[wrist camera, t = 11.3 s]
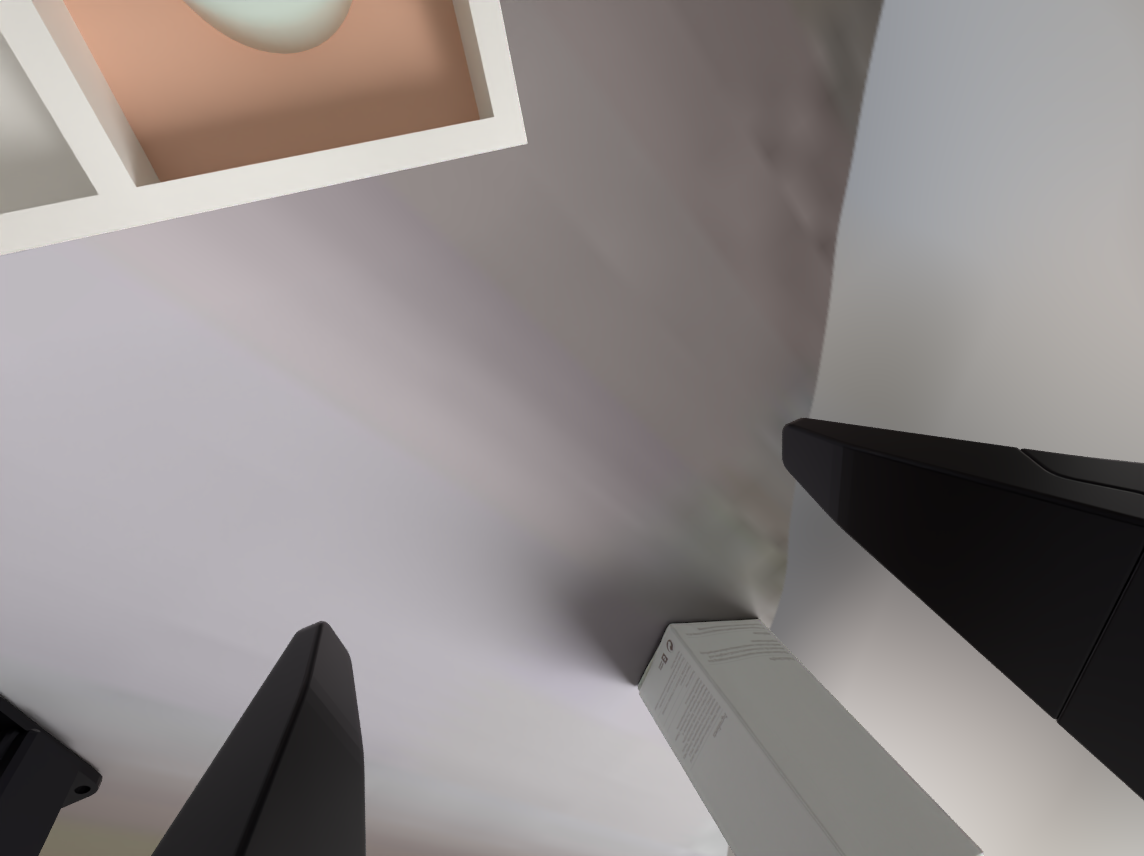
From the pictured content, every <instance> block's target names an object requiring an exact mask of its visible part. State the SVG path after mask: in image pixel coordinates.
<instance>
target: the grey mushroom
mask: <svg viewBox="0 0 1144 856" xmlns="http://www.w3.org/2000/svg"><path fill="white" fill-rule="evenodd" d="M183 1H184V2H185V3H186V4H187V5H188V6H189V7H190V8H191V9H192V10H193V11H194V12H196V13H197V14H198V15H199V16H200V17H201V18H202V19H203V20H204V21H206V22H207V23H208V24H210V25H211V26H212V27H214V28H215V29H216V30H218V31H219V32H221V33H222V34H224V35H226V36H227V37H229V38H231V39H233V40H235V41H237V42H239V43H241V44H243V45H245V46H248V47H251V48H254V49H257V50H261V51H265V52H270V53H281V54H288V53H298V52H302V51H306V50H309V49H312V48H314V47H316V46H319V45H320V44H322V43H323V42H325V41H326V40H328V39H329V38H330V37H331V36H332V35H333V34H334V33H335V32H336V31H337V30H338V28H339V27H340V26H341V24H342V23H343V21H344V20H345V18H346V16H347V14H348V12H349V9H350V6H351V3H352V0H183Z"/></svg>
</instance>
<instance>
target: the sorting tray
mask: <svg viewBox="0 0 1144 856" xmlns="http://www.w3.org/2000/svg"><path fill="white" fill-rule="evenodd" d="M523 144H528V143H527V138H526V133H525V128H524V123H523V118H522V113H521V108H520V102H519V97H518V92H517V87H516V82H515V77H514V72H513V67H512V62H511V57H510V52H509V47H508V42H507V37H506V31H505V26H504V21H503V16H502V11H501V6H500V1H499V0H352V3H351V6H350V9H349V12H348V14H347V16H346V18H345V20H344V21H343V23H342V24H341V26H340V27H339V28H338V30H337V31H336V32H335V33H334V34H333V35H332V36H331V37H330V38H329V39H328V40H326V41H325V42H323V43H322V44H320V45H319V46H316V47H314V48H312V49H309V50H306V51H302V52H298V53H288V54H281V53H270V52H265V51H261V50H257V49H254V48H251V47H248V46H245V45H243V44H241V43H239V42H237V41H235V40H233V39H231V38H229V37H227V36H226V35H224V34H222V33H221V32H219V31H218V30H216V29H215V28H214V27H212V26H211V25H210V24H208V23H207V22H206V21H204V20H203V19H202V18H201V17H200V16H199V15H198V14H197V13H196V12H194V11H193V10H192V9H191V8H190V7H189V6H188V5H187V4H186V3H185V2H184V1H183V0H0V255H5V254H9V253H14V252H19V251H24V250H28V249H33V248H38V247H42V246H47V245H52V244H57V243H61V242H66V241H71V240H75V239H80V238H85V237H90V236H94V235H99V234H104V233H108V232H113V231H118V230H123V229H127V228H132V227H137V226H141V225H146V224H151V223H156V222H160V221H165V220H170V219H174V218H179V217H184V216H189V215H193V214H198V213H203V212H207V211H212V210H217V209H222V208H226V207H231V206H236V205H240V204H245V203H250V202H255V201H259V200H264V199H269V198H273V197H278V196H283V195H288V194H292V193H297V192H302V191H306V190H311V189H316V188H321V187H325V186H330V185H335V184H339V183H344V182H349V181H354V180H358V179H363V178H368V177H372V176H377V175H382V174H387V173H391V172H396V171H401V170H405V169H410V168H415V167H420V166H424V165H429V164H434V163H438V162H443V161H448V160H453V159H457V158H462V157H467V156H471V155H476V154H481V153H486V152H490V151H495V150H500V149H504V148H509V147H514V146H519V145H523Z"/></svg>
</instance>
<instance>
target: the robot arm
mask: <svg viewBox="0 0 1144 856" xmlns="http://www.w3.org/2000/svg"><path fill="white" fill-rule="evenodd" d="M782 460H783V463H784V466H785V467H786V469H787V470H788V472H789V473H790V474H791V475H792V476H793V477H794V478H795V479H796V480H797V481H798V482H799V483H800V485H802V487H803V488H804V489H805V490H806V491H807V492H808V493H809V495H810V496H811V497H812V498H813V499H814V500H815V501H816V502H817V503H818V504H819V505H820V507H821V508H822V509H823V510H824V511H825V512H826V513H827V514H828V515H829V516H830V517H831V518H832V519H833V520H834V521H835V522H836V524H837V525H838V526H840V527H841V528H842V529H843V530H844V531H845V532H846V533H847V534H848V535H849V536H850V537H852V538H853V539H854V540H855V541H856V542H857V543H858V544H859V545H860V546H861V547H863V548H864V549H865V550H866V551H867V552H868V553H869V554H871V555H872V556H873V557H874V558H875V559H876V560H877V561H878V562H879V563H880V564H882V565H883V566H884V567H885V568H886V569H887V570H888V571H890V573H892V574H893V575H894V576H895V577H896V578H897V579H898V580H899V581H901V582H902V583H903V584H904V585H905V586H906V587H907V588H908V589H909V590H910V591H912V592H913V593H914V594H915V595H916V596H917V597H918V598H920V599H921V600H922V601H923V602H924V603H925V604H926V605H927V606H928V607H930V608H931V609H932V610H933V611H934V612H935V613H936V614H937V615H938V616H940V617H941V618H942V619H943V620H944V621H945V622H946V623H947V624H948V625H950V626H951V627H952V628H953V629H954V630H955V631H956V632H957V633H959V634H960V635H961V636H962V637H963V638H964V639H965V640H966V641H967V642H968V643H969V644H971V645H972V646H973V647H974V648H975V649H976V650H977V651H978V652H980V653H981V654H982V655H983V656H984V657H985V658H986V659H988V661H990V662H991V663H992V664H993V665H994V666H995V667H996V668H997V669H999V670H1000V671H1001V672H1002V673H1003V674H1004V675H1005V676H1006V677H1007V678H1008V679H1010V680H1011V681H1012V682H1013V683H1014V684H1015V685H1016V686H1017V687H1019V688H1020V689H1021V690H1022V691H1023V692H1024V693H1025V694H1026V695H1027V696H1029V697H1030V698H1031V699H1032V700H1033V701H1034V702H1035V703H1036V704H1037V705H1039V706H1040V707H1041V708H1042V709H1043V710H1044V711H1045V712H1046V713H1048V714H1049V715H1050V716H1051V717H1052V718H1053V719H1057V720H1056V721H1057V723H1058V724H1059V725H1060V726H1062V727H1063V728H1064V729H1065V730H1066V731H1067V732H1068V733H1069V734H1070V735H1072V736H1073V737H1074V738H1075V739H1076V740H1077V741H1078V742H1079V743H1080V744H1081V745H1083V746H1084V747H1085V748H1086V749H1087V750H1088V751H1089V752H1091V753H1092V754H1093V755H1094V756H1095V757H1096V758H1097V759H1098V760H1100V762H1102V763H1103V764H1104V765H1105V766H1106V767H1107V768H1108V769H1109V770H1110V771H1112V772H1113V773H1114V774H1115V775H1116V776H1117V777H1118V778H1119V779H1120V780H1122V781H1123V782H1124V783H1125V784H1126V785H1127V786H1128V787H1129V788H1131V789H1132V790H1133V791H1134V792H1135V793H1136V794H1137V795H1138V796H1139V797H1140V798H1142V799H1143V800H1144V463H1138V462H1128V461H1119V460H1108V459H1100V458H1091V457H1083V456H1075V455H1067V454H1059V453H1052V452H1045V451H1038V450H1030V449H1021V450H1020V449H1018V448H1015V447H1009V446H1001V445H994V444H987V443H980V442H973V441H966V440H959V439H951V438H945V437H937V436H930V435H923V434H916V433H908V432H902V431H894V430H888V429H880V428H873V427H866V426H859V425H852V424H845V423H838V422H831V421H824V420H816V419H809V418H800V419H797V420H795V421H793V422H790V423H788V424H786V425H785V426H784V428H783V431H782ZM101 781H102V776H101V774H100V773H98V772H97V771H96V770H94V769H93V768H92V767H91V766H89V765H88V764H87V763H85V762H84V761H83V760H82V759H80V758H79V757H78V756H77V755H75V754H74V753H73V752H71V751H70V750H69V749H68V748H66V747H65V746H64V745H62V744H61V743H60V742H59V741H57V740H56V739H55V738H53V737H52V736H51V735H50V734H48V733H47V732H46V731H45V730H43V729H42V728H41V727H39V726H38V725H37V724H36V723H34V722H33V721H32V720H30V719H29V718H28V717H27V716H25V715H24V714H23V713H21V712H20V711H19V710H18V709H16V708H15V707H14V706H13V705H11V704H10V703H9V702H7V701H6V700H5V699H4V698H2V697H0V856H38V855H39V853H40V851H41V849H42V847H43V845H44V843H45V841H46V839H47V837H48V834H49V832H50V830H51V828H52V826H53V824H54V822H55V820H56V818H57V816H58V813H59V811H60V809H61V808H63V807H65V806H68V805H70V804H72V803H75V802H77V801H79V800H82V799H84V798H86V797H89V796H91V795H93V794H94V793H96V791H97V790H98V788H99V786H100V784H101ZM151 856H366V833H365V774H364V752H363V743H362V735H361V728H360V720H359V713H358V706H357V698H356V691H355V683H354V676H353V669H352V662H351V659H350V656H349V653H348V651H347V650H346V648H345V647H344V645H343V644H342V642H341V641H340V639H339V638H338V637H337V635H336V634H335V632H334V631H333V629H332V628H331V626H330V625H329V624H328V623H326V622H325V621H320V622H317V623H315V624H312V625H310V626H308V627H305V628H303V629H301V630H299V631H298V632H297V633H296V634H295V635H294V637H293V638H292V640H291V641H290V643H289V645H288V646H287V648H286V649H285V651H284V652H283V654H282V655H281V657H280V658H279V660H278V661H277V663H276V665H275V666H274V668H273V669H272V671H271V672H270V674H269V675H268V677H267V678H266V680H265V681H264V683H263V685H262V686H261V688H260V689H259V691H258V692H257V694H256V695H255V697H254V698H253V700H252V701H251V703H250V705H249V706H248V708H247V709H246V711H245V712H244V714H243V715H242V717H241V718H240V720H239V721H238V723H237V725H236V726H235V728H234V729H233V731H232V732H231V734H230V735H229V737H228V738H227V740H226V741H225V743H224V745H223V746H222V748H221V749H220V751H219V752H218V754H217V755H216V757H215V758H214V760H213V761H212V763H211V765H210V766H209V768H208V769H207V771H206V772H205V774H204V775H203V777H202V778H201V780H200V781H199V783H198V785H197V786H196V788H195V789H194V791H193V792H192V794H191V795H190V797H189V798H188V800H187V801H186V803H185V805H184V806H183V808H182V809H181V811H180V812H179V814H178V815H177V817H176V818H175V820H174V821H173V823H172V825H171V826H170V828H169V829H168V831H167V832H166V834H165V835H164V837H163V838H162V840H161V841H160V843H159V845H158V846H157V848H156V849H155V851H154V852H153V854H152V855H151Z"/></svg>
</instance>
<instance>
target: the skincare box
mask: <svg viewBox="0 0 1144 856" xmlns="http://www.w3.org/2000/svg"><path fill="white" fill-rule="evenodd" d="M638 690H639V695H640V697H641V698H642V700H643V702H644V703H645V705H646V707H647V708H648V710H649V712H650V714H651V715H652V717H653V719H654V720H655V722H656V724H657V725H658V727H659V729H660V730H661V732H662V734H663V735H664V737H665V739H666V741H667V742H668V744H669V746H670V747H671V749H672V751H673V752H674V754H675V756H676V757H677V759H678V760H679V762H680V764H681V765H682V767H683V769H684V771H685V772H686V774H687V776H688V777H689V779H690V781H691V783H692V784H693V786H694V788H695V789H696V791H697V793H698V794H699V796H700V798H701V799H702V801H703V803H704V804H705V806H706V808H707V809H708V811H709V813H710V814H711V816H712V817H713V819H714V821H715V823H716V824H717V826H718V828H719V829H720V831H721V833H722V835H723V836H724V838H725V840H726V841H727V843H728V845H729V846H730V848H731V850H732V851H733V853H734V854H735V856H984V853H983V851H982V850H981V849H980V848H979V846H978V845H976V844H975V842H974V841H973V840H972V839H971V838H970V837H969V836H968V835H967V834H966V833H965V832H964V831H963V830H962V829H961V828H960V827H959V826H958V825H957V824H956V823H955V822H954V821H953V820H952V819H951V818H950V816H948V814H947V813H946V812H945V811H944V810H943V809H942V808H941V807H940V806H939V805H938V804H937V803H936V802H935V801H934V800H933V799H932V798H931V797H930V796H929V795H928V794H927V793H926V792H925V791H924V790H923V789H922V788H921V787H920V785H919V784H918V783H917V782H916V781H915V780H914V779H913V778H912V777H911V776H910V775H909V774H908V773H907V772H906V771H905V770H904V769H903V768H902V767H901V766H900V765H899V764H898V763H897V762H896V760H894V758H893V757H891V755H890V754H888V752H887V751H886V750H885V749H884V748H883V747H882V746H881V745H880V744H879V743H878V742H877V741H876V740H875V739H874V738H873V737H872V736H871V735H870V734H869V733H868V731H866V730H865V728H864V727H863V726H862V725H861V724H859V722H858V721H857V720H856V719H855V718H854V717H853V716H852V715H851V714H850V713H849V712H848V711H847V710H846V709H845V708H844V707H843V706H842V705H841V704H840V703H839V701H838V700H837V699H836V698H835V697H834V696H833V695H831V693H830V692H829V691H828V690H827V689H826V688H825V687H824V686H823V685H822V684H821V683H820V682H819V681H818V680H817V679H816V678H815V677H814V676H813V674H812V673H811V672H810V671H809V670H807V668H806V667H805V666H804V665H803V664H802V663H801V662H800V661H799V660H798V659H797V658H796V657H795V656H794V655H793V654H792V653H791V652H790V651H789V650H788V649H787V648H786V646H785V645H783V643H782V642H781V641H780V640H779V639H778V638H777V637H776V636H775V635H774V634H773V633H772V632H771V631H770V630H769V629H768V628H767V627H766V626H765V625H764V624H763V623H762V621H761V620H760V619H751V620H734V621H715V622H696V623H676V624H670V625H669V626H668V627H667V629H666V631H665V633H664V635H663V638H662V640H661V643H660V645H659V647H658V649H657V650H656V652H655V654H654V656H653V658H652V660H651V661H650V663H649V665H648V667H647V669H646V671H645V672H644V675H643V677H642V679H641V681H640V683H639V685H638Z"/></svg>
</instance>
